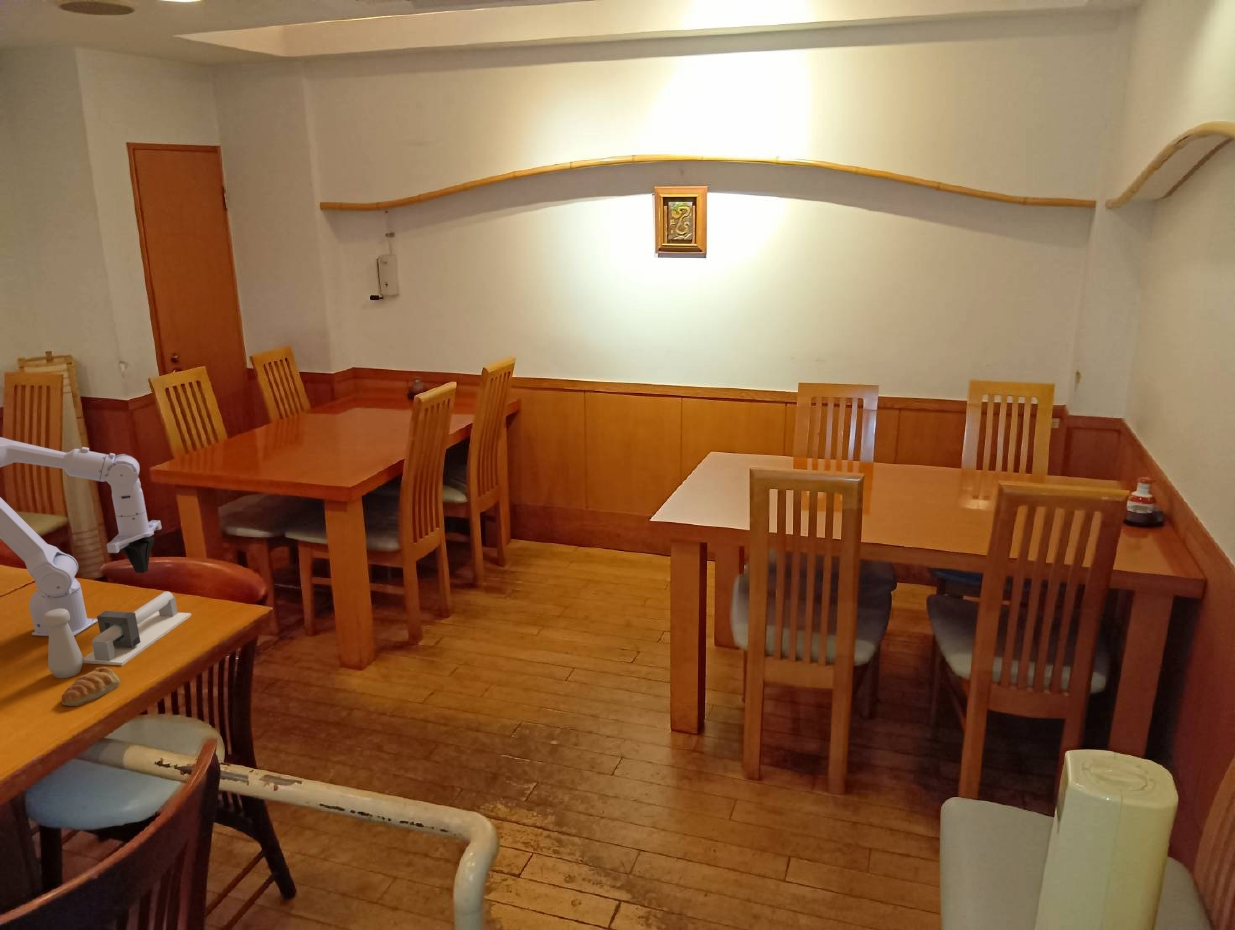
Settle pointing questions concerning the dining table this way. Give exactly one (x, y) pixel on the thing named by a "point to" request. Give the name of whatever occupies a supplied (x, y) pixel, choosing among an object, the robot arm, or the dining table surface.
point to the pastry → (90, 687)
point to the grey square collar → (128, 625)
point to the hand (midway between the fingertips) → (141, 571)
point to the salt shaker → (62, 645)
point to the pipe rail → (151, 627)
